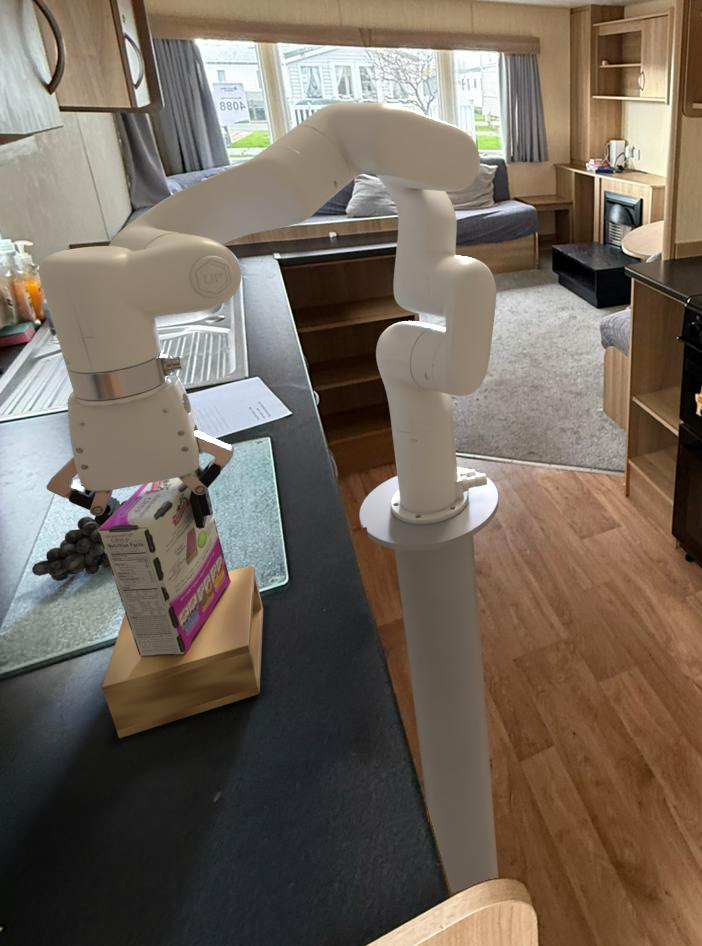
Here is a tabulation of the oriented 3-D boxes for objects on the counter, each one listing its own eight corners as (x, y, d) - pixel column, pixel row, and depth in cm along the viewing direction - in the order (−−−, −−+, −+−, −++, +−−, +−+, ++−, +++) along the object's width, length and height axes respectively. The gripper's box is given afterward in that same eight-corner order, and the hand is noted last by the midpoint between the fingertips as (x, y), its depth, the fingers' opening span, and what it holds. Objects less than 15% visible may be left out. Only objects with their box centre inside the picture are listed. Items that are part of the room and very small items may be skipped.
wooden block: (263, 609, 84) (253, 564, 81) (259, 694, 72) (248, 645, 69) (144, 641, 79) (130, 595, 76) (119, 738, 67) (101, 687, 64)
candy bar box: (188, 585, 78) (157, 466, 72) (232, 582, 78) (204, 464, 73) (134, 660, 67) (93, 528, 62) (185, 657, 68) (148, 525, 62)
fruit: (15, 539, 82) (154, 495, 91) (24, 526, 89) (153, 486, 98) (36, 602, 83) (172, 552, 92) (43, 585, 90) (169, 540, 99)
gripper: (225, 350, 69) (255, 492, 75) (21, 376, 62) (71, 531, 69) (219, 375, 63) (252, 529, 69) (-9, 408, 56) (49, 575, 62)
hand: (162, 529), depth 69 cm, fingers open, 6 cm apart
